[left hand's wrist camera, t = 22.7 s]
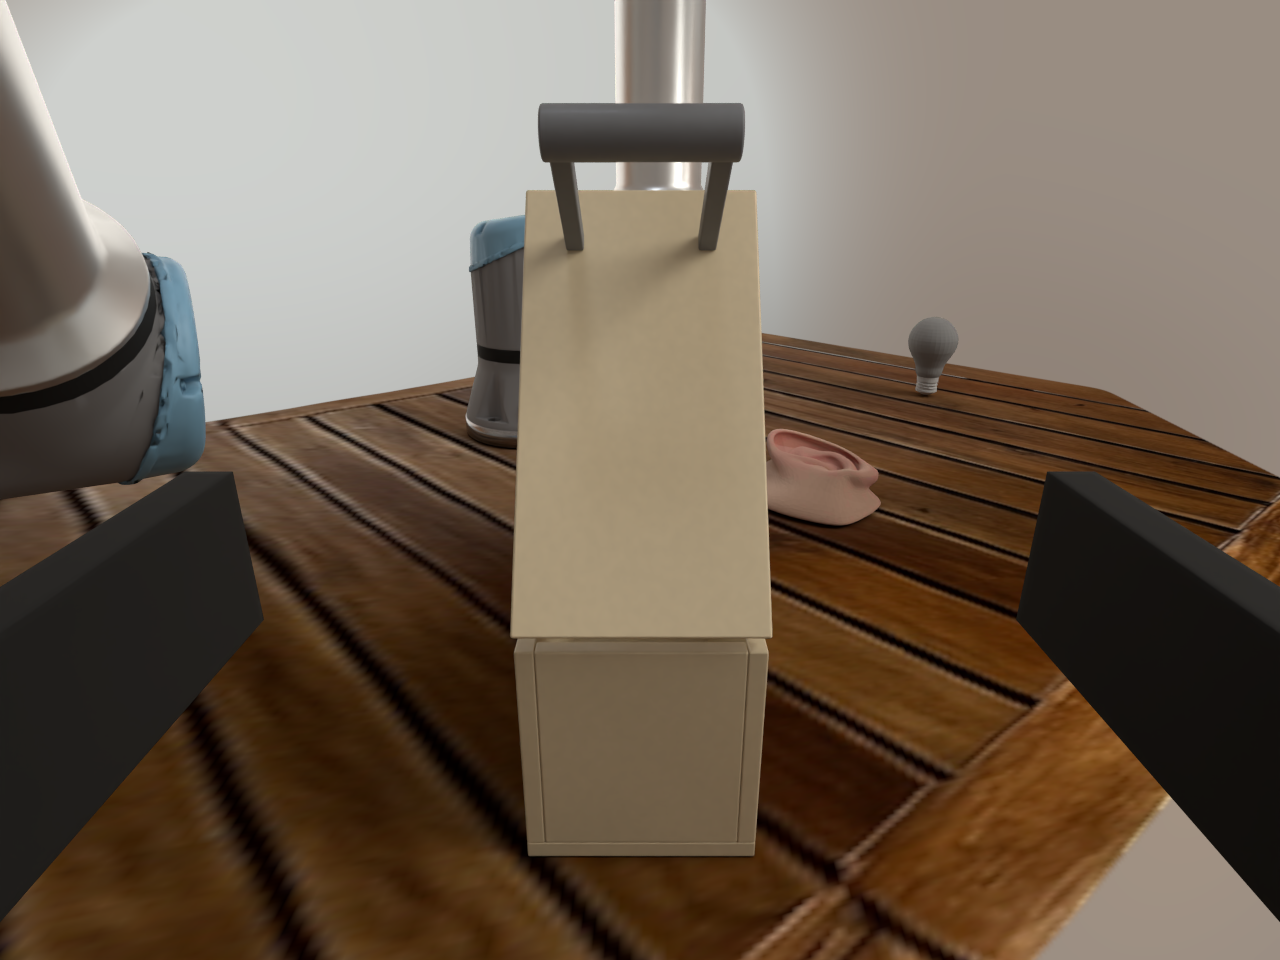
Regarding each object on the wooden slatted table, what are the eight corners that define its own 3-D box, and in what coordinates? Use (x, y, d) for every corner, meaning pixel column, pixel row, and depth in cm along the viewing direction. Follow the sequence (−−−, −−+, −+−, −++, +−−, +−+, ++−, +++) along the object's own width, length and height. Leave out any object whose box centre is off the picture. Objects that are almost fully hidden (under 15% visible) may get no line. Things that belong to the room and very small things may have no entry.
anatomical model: (882, 485, 58) (735, 468, 61) (876, 532, 59) (733, 513, 63) (889, 435, 70) (765, 423, 73) (884, 475, 71) (763, 462, 74)
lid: (529, 204, 31) (489, 46, 23) (752, 204, 31) (792, 46, 23) (514, 638, 28) (461, 637, 19) (767, 638, 28) (822, 637, 19)
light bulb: (908, 399, 97) (919, 320, 93) (896, 387, 102) (905, 313, 99) (956, 400, 96) (968, 321, 93) (941, 388, 102) (952, 313, 98)
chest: (565, 632, 46) (559, 484, 43) (715, 632, 46) (722, 484, 43) (528, 856, 31) (513, 652, 27) (754, 856, 31) (769, 652, 27)
